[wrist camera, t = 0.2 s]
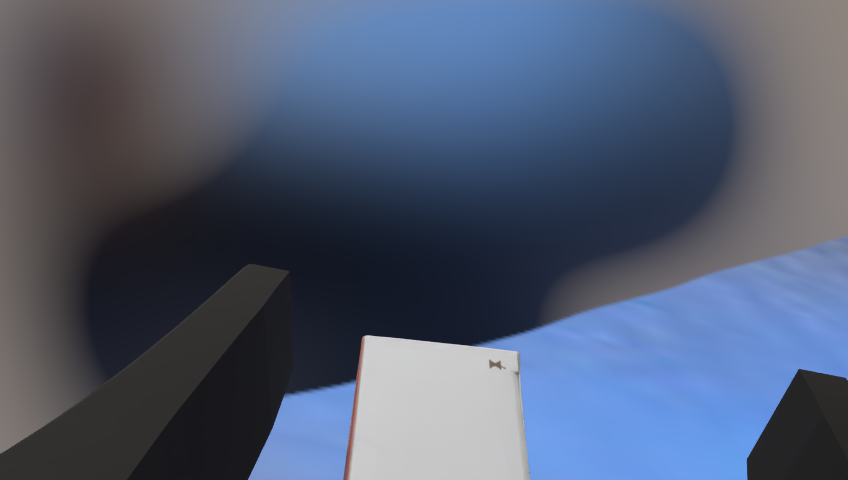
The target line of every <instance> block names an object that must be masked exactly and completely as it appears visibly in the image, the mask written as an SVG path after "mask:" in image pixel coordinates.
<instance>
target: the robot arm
mask: <svg viewBox="0 0 848 480" xmlns="http://www.w3.org/2000/svg"><path fill="white" fill-rule="evenodd" d="M292 370H293V342H292V317H291V290H290V272H289V271H285V270H280V269H275V268H270V267H264V266H259V265H253V264H249V265H247V266H246V267H244V268H243V269H242V270H240V271H239V272H238V273H237V274H236V275H235V276H234V277H233V278H231V279H230V280H229V281H228V282H227V283H226V284H225V285H224V286H222V287H221V288H220V289H219V290H218V291H217V292H216V293H215V294H214V295H212V296H211V297H210V298H209V299H208V300H207V301H206V302H204V303H203V304H202V305H201V306H200V307H199V308H197V309H196V310H195V311H194V312H193V313H192V314H191V315H189V316H188V317H187V318H186V319H185V320H184V321H182V322H181V323H180V324H179V325H178V326H177V327H175V328H174V329H173V330H172V331H170V332H169V333H168V334H167V335H166V336H164V337H163V338H162V339H161V340H159V341H158V342H157V343H156V344H155V345H153V346H152V347H151V348H150V349H148V350H147V351H146V352H145V353H144V354H142V355H141V356H140V357H139V358H137V359H136V360H135V361H134V362H132V363H131V364H130V365H128V366H127V367H126V368H124V369H123V370H122V371H120V372H119V373H118V374H117V375H115V376H114V377H113V378H111V379H110V380H108V381H107V382H106V383H104V384H103V385H102V386H100V387H99V388H98V389H96V390H95V391H94V392H92V393H91V394H90V395H88V396H87V397H86V398H84V399H83V400H82V401H80V402H79V403H77V404H76V405H75V406H73V407H72V408H70V409H69V410H67V411H66V412H64V413H63V414H62V415H60V416H59V417H57V418H56V419H54V420H53V421H51V422H50V423H48V424H47V425H45V426H44V427H42V428H41V429H39V430H38V431H36V432H34V433H33V434H31V435H30V436H28V437H27V438H25V439H23V440H22V441H20V442H19V443H17V444H16V445H14V446H12V447H11V448H9V449H8V450H6V451H4V452H3V453H1V454H0V480H248V478H249V476H250V474H251V472H252V470H253V468H254V466H255V464H256V462H257V460H258V457H259V455H260V453H261V451H262V449H263V447H264V445H265V443H266V441H267V439H268V436H269V434H270V432H271V430H272V428H273V425H274V422H275V419H276V417H277V414H278V411H279V408H280V405H281V403H282V400H283V397H284V394H285V391H286V387H287V384H288V382H289V379H290V375H291V373H292ZM747 477H748V480H848V381H847V379H846V378H843V377H838V376H833V375H828V374H823V373H817V372H812V371H807V370H802V369H799V370H798V372H797V373H796V375H795V377H794V378H793V380H792V382H791V384H790V385H789V387H788V389H787V391H786V392H785V394H784V396H783V398H782V399H781V401H780V403H779V405H778V406H777V408H776V410H775V411H774V413H773V415H772V417H771V418H770V420H769V422H768V424H767V425H766V427H765V429H764V431H763V432H762V434H761V436H760V438H759V439H758V441H757V443H756V445H755V446H754V448H753V450H752V451H751V453H750V455H749V457H748V458H747Z"/></svg>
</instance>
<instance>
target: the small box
mask: <svg viewBox="0 0 848 480" xmlns="http://www.w3.org/2000/svg"><path fill="white" fill-rule="evenodd" d="M344 480H530V476H529V466H528V457H527V448H526V438H525V428H524V418H523V407H522V395H521V381H520V355H519V353H518V352H516V351H508V350H499V349H491V348H482V347H473V346H464V345H454V344H445V343H435V342H426V341H417V340H408V339H399V338H398V339H397V338H389V337H375V336H364V337H363V338H362V344H361V352H360V360H359V366H358V373H357V380H356V388H355V395H354V403H353V410H352V418H351V425H350V433H349V440H348V447H347V455H346V463H345V471H344Z"/></svg>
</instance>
